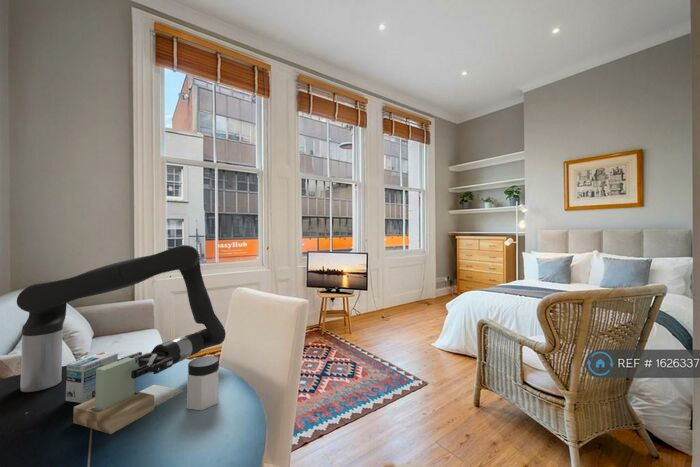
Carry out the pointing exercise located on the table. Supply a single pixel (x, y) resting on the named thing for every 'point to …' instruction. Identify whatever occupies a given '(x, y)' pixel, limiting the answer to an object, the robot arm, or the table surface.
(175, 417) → the table surface
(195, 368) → the jar
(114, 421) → the grooved wooden block
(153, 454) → the table surface
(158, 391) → the mat
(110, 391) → the grey-green angular block
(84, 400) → the light bulb box
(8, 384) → the table surface
